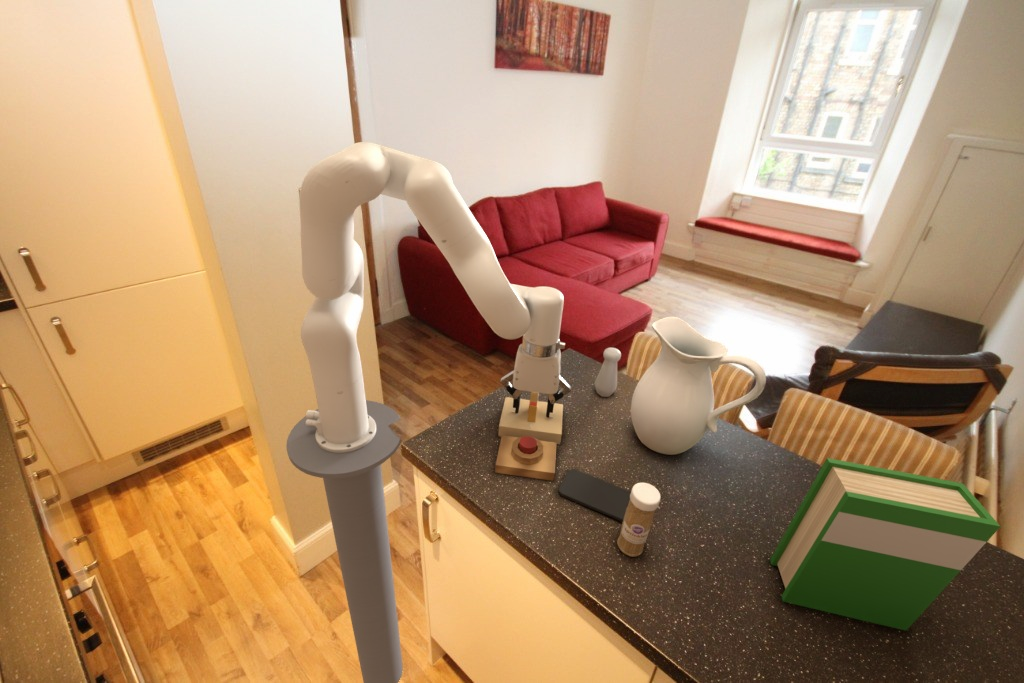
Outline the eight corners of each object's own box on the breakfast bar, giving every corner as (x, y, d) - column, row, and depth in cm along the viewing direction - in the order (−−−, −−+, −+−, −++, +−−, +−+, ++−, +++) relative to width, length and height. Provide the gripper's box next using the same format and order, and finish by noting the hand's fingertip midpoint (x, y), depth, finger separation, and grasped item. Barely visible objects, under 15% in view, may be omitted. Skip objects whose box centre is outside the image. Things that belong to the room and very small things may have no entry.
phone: (570, 467, 92) (642, 496, 87) (569, 470, 93) (641, 499, 87) (556, 491, 86) (633, 524, 81) (556, 494, 87) (632, 527, 81)
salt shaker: (592, 396, 116) (600, 353, 110) (593, 384, 121) (601, 342, 115) (614, 400, 115) (624, 358, 109) (615, 388, 120) (624, 346, 114)
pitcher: (610, 433, 104) (634, 328, 90) (650, 406, 114) (677, 308, 100) (705, 497, 89) (752, 382, 75) (742, 460, 99) (789, 353, 85)
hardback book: (783, 601, 71) (848, 496, 59) (770, 560, 77) (826, 457, 66) (906, 630, 68) (1000, 526, 56) (882, 585, 75) (962, 483, 63)
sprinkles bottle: (619, 557, 76) (635, 502, 69) (614, 534, 80) (629, 480, 73) (646, 558, 76) (664, 504, 69) (639, 535, 80) (656, 481, 73)
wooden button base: (494, 472, 91) (495, 458, 89) (501, 442, 99) (502, 428, 97) (553, 481, 90) (555, 466, 88) (555, 450, 98) (557, 436, 96)
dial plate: (498, 436, 100) (498, 425, 99) (504, 406, 110) (505, 396, 108) (560, 444, 99) (561, 433, 98) (561, 414, 109) (563, 403, 107)
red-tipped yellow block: (529, 406, 106) (531, 390, 103) (537, 407, 106) (538, 391, 103) (527, 421, 101) (529, 404, 99) (535, 422, 101) (537, 405, 98)
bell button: (518, 453, 91) (518, 446, 90) (519, 441, 94) (520, 434, 93) (535, 455, 91) (536, 449, 90) (536, 443, 94) (537, 437, 93)
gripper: (580, 341, 97) (570, 406, 105) (502, 331, 98) (497, 397, 107) (581, 358, 90) (569, 427, 99) (496, 348, 91) (492, 417, 100)
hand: (532, 411), depth 103 cm, fingers open, 6 cm apart
